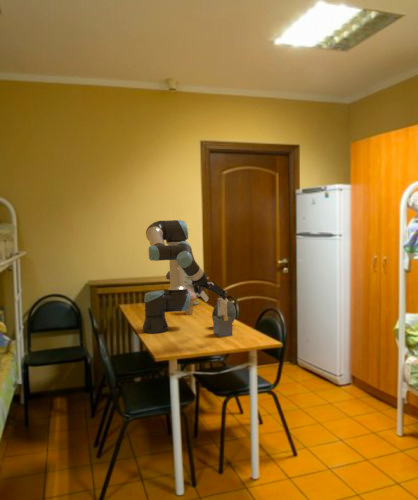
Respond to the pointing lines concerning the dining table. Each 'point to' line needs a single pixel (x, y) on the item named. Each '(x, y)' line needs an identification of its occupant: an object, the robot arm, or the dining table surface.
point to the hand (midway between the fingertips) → (216, 301)
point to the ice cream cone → (191, 303)
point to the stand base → (222, 326)
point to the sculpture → (187, 284)
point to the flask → (230, 310)
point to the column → (222, 309)
